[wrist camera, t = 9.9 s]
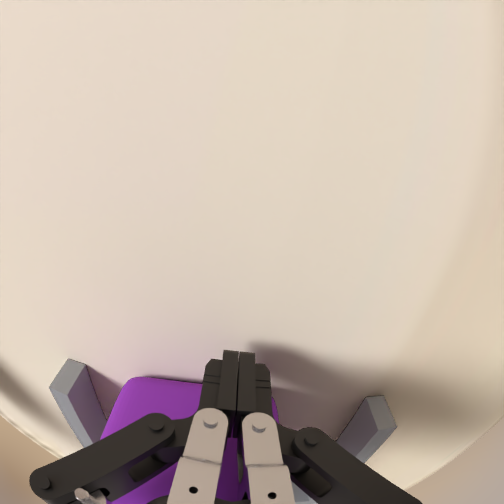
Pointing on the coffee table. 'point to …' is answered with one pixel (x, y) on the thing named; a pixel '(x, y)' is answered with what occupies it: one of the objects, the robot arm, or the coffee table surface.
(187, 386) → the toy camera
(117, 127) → the coffee table surface
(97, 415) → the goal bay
